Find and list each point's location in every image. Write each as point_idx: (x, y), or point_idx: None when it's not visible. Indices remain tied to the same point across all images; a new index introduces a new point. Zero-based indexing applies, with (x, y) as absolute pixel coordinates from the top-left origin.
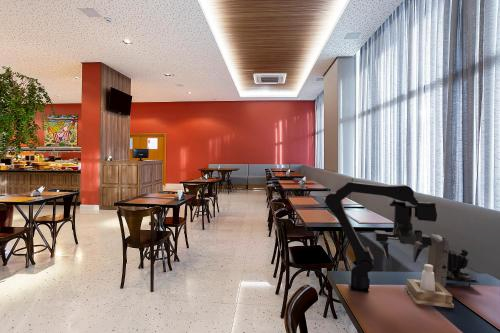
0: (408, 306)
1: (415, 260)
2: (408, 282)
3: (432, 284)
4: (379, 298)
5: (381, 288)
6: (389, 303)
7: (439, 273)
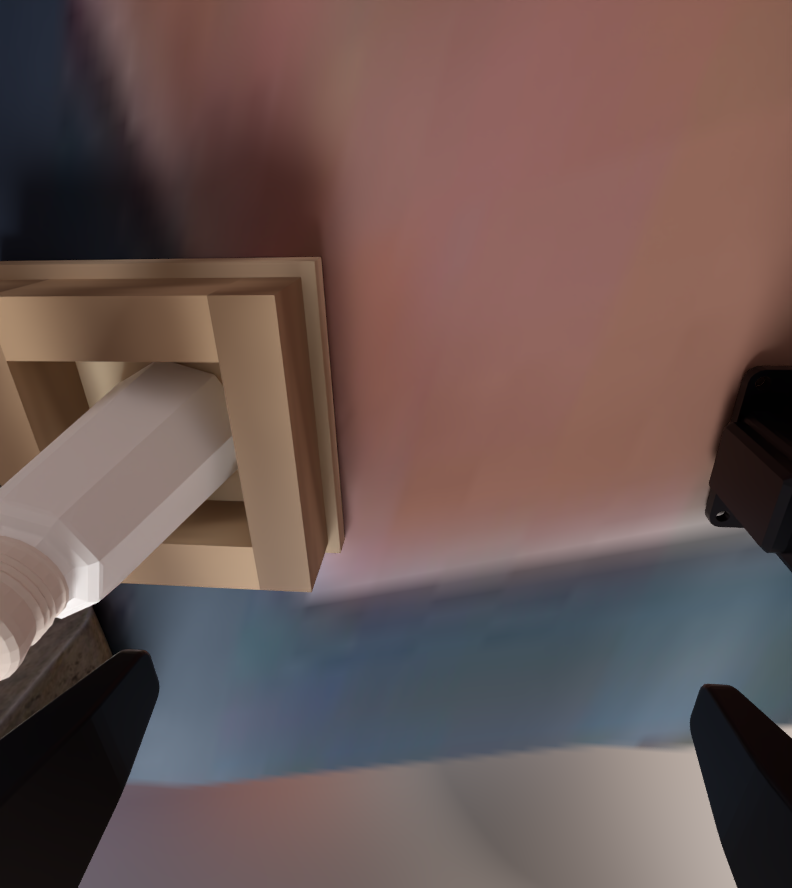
0: (412, 153)
1: (100, 678)
2: (312, 542)
3: (72, 432)
4: (675, 262)
5: (562, 489)
6: (605, 164)
7: (2, 693)
